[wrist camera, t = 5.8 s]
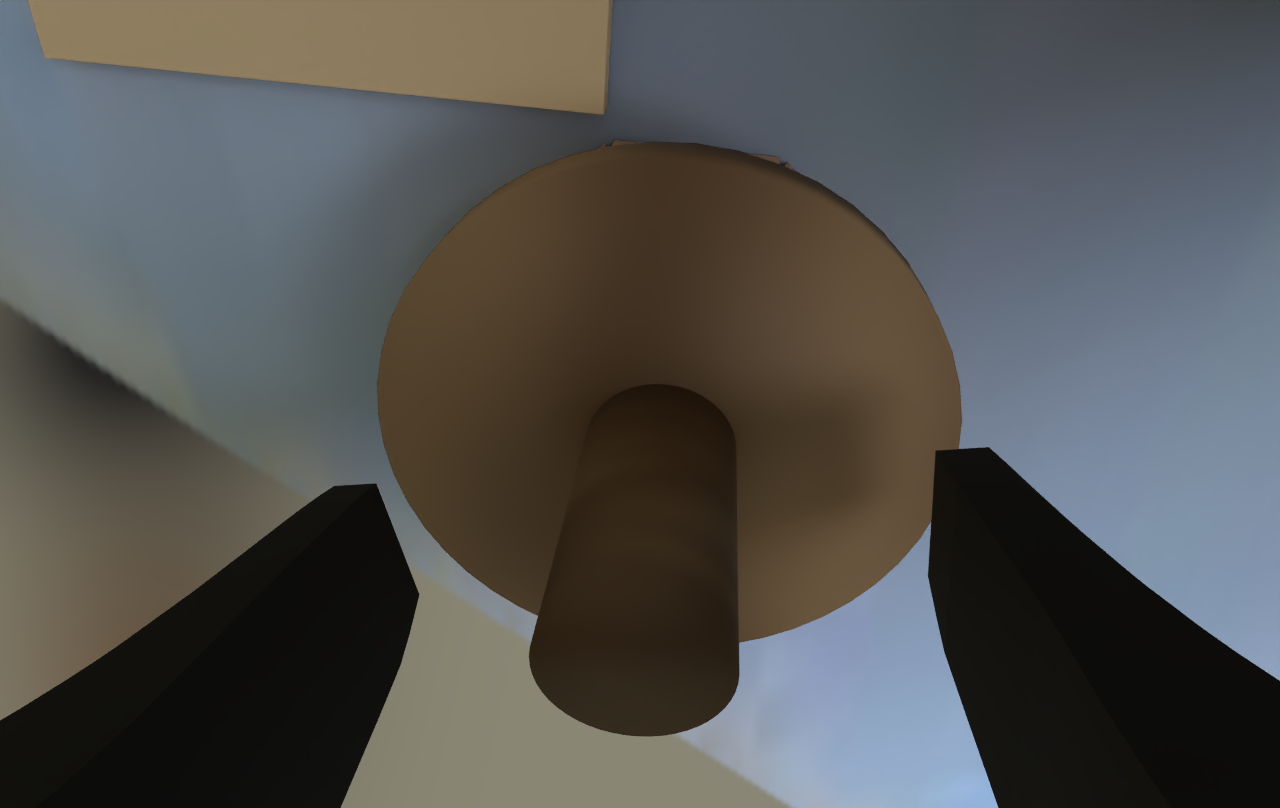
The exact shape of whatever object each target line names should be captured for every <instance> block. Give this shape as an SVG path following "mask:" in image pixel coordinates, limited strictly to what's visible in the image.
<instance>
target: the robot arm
mask: <svg viewBox="0 0 1280 808" xmlns="http://www.w3.org/2000/svg"><path fill="white" fill-rule="evenodd" d="M928 578H929V583H930V588H931V593H932V597H933V602H934V607H935V612H936V617H937V621H938V626H939V630H940V634H941V639H942V643H943V648H944V652H945V655H946V658H947V661H948V664H949V667H950V670H951V673H952V676H953V678H954V681H955V684H956V687H957V690H958V693H959V696H960V699H961V702H962V705H963V708H964V710H965V713H966V716H967V719H968V722H969V725H970V728H971V730H972V733H973V736H974V739H975V742H976V745H977V748H978V750H979V753H980V756H981V759H982V762H983V765H984V768H985V770H986V773H987V776H988V779H989V782H990V785H991V788H992V790H993V793H994V796H995V799H996V802H997V805H998V808H1280V681H1279V680H1277V679H1276V678H1274V677H1273V676H1271V675H1270V674H1268V673H1267V672H1265V671H1264V670H1262V669H1261V668H1259V667H1258V666H1256V665H1255V664H1253V663H1252V662H1250V661H1249V660H1247V659H1246V658H1244V657H1243V656H1241V655H1240V654H1238V653H1237V652H1235V651H1234V650H1232V649H1231V648H1230V647H1228V646H1227V645H1225V644H1224V643H1222V642H1221V641H1220V640H1218V639H1217V638H1215V637H1214V636H1213V635H1211V634H1210V633H1208V632H1207V631H1205V630H1204V629H1203V628H1201V627H1200V626H1199V625H1197V624H1196V623H1195V622H1193V621H1192V620H1191V619H1189V618H1188V617H1187V616H1185V615H1184V614H1183V613H1181V612H1180V611H1179V610H1177V609H1176V608H1175V607H1174V606H1172V605H1171V604H1170V603H1168V602H1167V601H1166V600H1164V599H1163V598H1162V597H1160V596H1159V595H1158V594H1156V593H1155V592H1154V591H1152V590H1151V589H1150V588H1148V587H1147V586H1146V585H1145V584H1143V583H1142V582H1141V581H1140V580H1138V579H1137V578H1136V577H1135V576H1133V575H1132V574H1131V573H1130V572H1129V571H1127V570H1126V569H1125V568H1124V567H1123V566H1121V565H1120V564H1119V563H1118V562H1117V561H1116V560H1114V559H1113V558H1112V557H1111V556H1110V555H1108V554H1107V553H1106V552H1105V551H1104V550H1103V549H1101V548H1100V547H1099V546H1098V545H1097V544H1095V543H1094V542H1093V541H1092V540H1091V539H1090V538H1088V537H1087V536H1086V535H1085V534H1084V533H1083V532H1081V531H1080V530H1079V529H1078V528H1077V527H1076V526H1075V525H1073V524H1072V523H1071V522H1070V521H1069V520H1068V519H1067V518H1066V517H1064V516H1063V515H1062V514H1061V513H1060V512H1059V511H1058V510H1057V509H1056V508H1055V507H1053V506H1052V505H1051V504H1050V503H1049V502H1048V501H1047V500H1046V499H1045V498H1044V497H1042V496H1041V495H1040V494H1039V493H1038V492H1037V491H1036V490H1035V489H1034V488H1033V487H1032V486H1031V485H1029V484H1028V483H1027V482H1026V481H1025V480H1024V479H1023V478H1022V477H1021V476H1020V475H1019V474H1018V473H1017V472H1015V471H1014V470H1013V469H1012V468H1011V467H1010V466H1009V465H1008V464H1007V463H1006V462H1005V461H1004V460H1002V459H1001V458H1000V457H999V456H998V455H997V454H996V453H995V452H993V451H992V450H991V449H990V448H989V447H986V448H970V449H953V450H936V451H935V468H934V484H933V501H932V518H931V535H930V552H929V569H928ZM418 598H419V593H418V590H417V588H416V585H415V582H414V580H413V577H412V575H411V572H410V569H409V567H408V564H407V562H406V559H405V556H404V554H403V551H402V549H401V546H400V544H399V541H398V538H397V536H396V533H395V531H394V528H393V526H392V523H391V520H390V518H389V515H388V513H387V510H386V508H385V505H384V502H383V500H382V497H381V495H380V492H379V489H378V487H377V484H361V485H344V486H334V487H332V488H331V489H329V490H328V491H326V492H324V493H323V494H321V495H320V496H318V497H317V498H316V499H314V500H313V501H311V502H310V503H309V504H307V505H306V506H305V507H303V508H302V509H300V510H299V511H298V512H296V513H295V514H294V515H293V516H291V517H290V518H288V519H287V520H286V521H285V522H283V523H282V524H280V525H279V526H278V527H277V528H275V529H274V530H273V531H272V532H270V533H269V534H268V535H267V536H265V537H264V538H262V539H261V540H260V541H258V542H257V543H256V544H255V545H253V546H252V547H251V548H249V549H248V550H247V551H246V552H244V553H243V554H242V555H240V556H239V557H238V558H236V559H235V560H234V561H233V562H231V563H230V564H229V565H227V566H226V567H225V568H223V569H222V570H221V571H220V572H218V573H217V574H216V575H214V576H213V577H212V578H210V579H209V580H208V581H207V582H205V583H204V584H203V585H201V586H200V587H199V588H197V589H196V590H195V591H193V592H192V593H191V594H190V595H188V596H186V597H185V598H184V599H182V600H181V601H179V602H178V603H177V604H175V605H174V606H173V607H171V608H170V609H169V610H167V611H166V612H164V613H163V614H161V615H160V616H159V617H157V618H156V619H155V620H153V621H152V622H150V623H149V624H148V625H146V626H145V627H143V628H142V629H141V630H140V631H138V632H137V633H135V634H134V635H132V636H131V637H130V638H128V639H127V640H125V641H124V642H123V643H121V644H120V645H118V646H117V647H116V648H114V649H113V650H111V651H110V652H108V653H107V654H105V655H104V656H102V657H101V658H100V659H98V660H96V661H95V662H93V663H92V664H90V665H89V666H87V667H86V668H84V669H83V670H81V671H80V672H78V673H76V674H75V675H73V676H72V677H70V678H69V679H67V680H66V681H64V682H63V683H61V684H59V685H58V686H56V687H54V688H53V689H51V690H50V691H48V692H46V693H45V694H43V695H42V696H40V697H38V698H37V699H35V700H33V701H32V702H30V703H29V704H27V705H25V706H24V707H22V708H21V709H19V710H17V711H16V712H14V713H12V714H11V715H9V716H7V717H6V718H4V719H2V720H0V808H341V805H342V803H343V801H344V798H345V796H346V794H347V791H348V789H349V786H350V784H351V782H352V779H353V777H354V774H355V772H356V770H357V768H358V765H359V763H360V761H361V758H362V756H363V754H364V751H365V749H366V747H367V744H368V742H369V740H370V737H371V735H372V732H373V730H374V728H375V725H376V723H377V721H378V718H379V716H380V713H381V711H382V709H383V706H384V704H385V701H386V698H387V697H388V694H389V692H390V689H391V687H392V685H393V682H394V680H395V677H396V675H397V672H398V669H399V667H400V665H401V662H402V658H403V655H404V651H405V648H406V644H407V641H408V637H409V634H410V630H411V626H412V622H413V618H414V614H415V610H416V606H417V601H418Z"/></svg>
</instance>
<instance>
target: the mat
mask: <svg viewBox="0 0 1280 808" xmlns="http://www.w3.org/2000/svg"><path fill="white" fill-rule="evenodd" d="M28 3H29V6H30V10H31V13H32V17H33V20H34V23H35V27H36V30H37V33H38V37H39V40H40V43H41V47H42V50H43V54H44V57H45V58H53V59H63V60H73V61H82V62H92V63H102V64H112V65H122V66H131V67H141V68H151V69H161V70H171V71H180V72H190V73H200V74H210V75H220V76H229V77H239V78H249V79H259V80H269V81H278V82H288V83H298V84H308V85H318V86H327V87H337V88H347V89H357V90H367V91H376V92H386V93H396V94H406V95H416V96H426V97H435V98H445V99H455V100H465V101H475V102H484V103H494V104H504V105H514V106H524V107H533V108H543V109H553V110H563V111H573V112H582V113H592V114H602V115H603V114H604V112H605V110H606V109H607V101H608V82H609V63H610V44H611V26H612V7H613V0H28Z"/></svg>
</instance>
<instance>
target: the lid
mask: <svg viewBox="0 0 1280 808" xmlns="http://www.w3.org/2000/svg"><path fill="white" fill-rule="evenodd" d="M377 388H378V415H379V421H380V426H381V431H382V437H383V442H384V446H385V449H386V452H387V455H388V458H389V461H390V464H391V467H392V470H393V473H394V475H395V477H396V479H397V481H398V483H399V485H400V487H401V489H402V491H403V493H404V495H405V498H406V500H407V502H408V503H409V505H410V506H411V508H412V509H413V511H414V512H415V514H416V515H417V517H418V518H419V520H420V521H421V523H422V524H423V526H424V527H425V528H426V529H427V531H428V532H429V533H430V534H431V535H432V536H433V538H434V539H435V540H436V541H437V542H438V543H439V545H440V546H441V547H442V548H443V549H444V550H445V551H446V552H447V553H448V554H449V555H450V556H451V557H452V558H453V559H454V560H455V561H456V562H457V563H458V564H460V565H461V566H462V567H463V568H464V569H465V570H466V571H467V572H468V573H470V574H471V575H472V576H474V577H475V578H476V579H478V580H479V581H480V582H482V583H483V584H484V585H486V586H487V587H488V588H490V589H491V590H492V591H494V592H496V593H497V594H499V595H501V596H502V597H504V598H506V599H507V600H509V601H510V602H512V603H514V604H515V605H517V606H519V607H521V608H523V609H525V610H527V611H529V612H531V613H533V614H535V615H538V619H537V623H536V626H535V630H534V634H533V638H532V642H531V645H530V652H529V661H530V668H531V671H532V675H533V677H534V679H535V681H536V683H537V685H538V687H539V688H540V689H541V691H542V692H543V694H544V695H545V696H546V697H547V698H548V699H549V700H550V701H551V702H552V703H553V704H554V705H555V706H556V707H558V708H559V709H560V710H562V711H563V712H564V713H566V714H568V715H569V716H571V717H573V718H574V719H576V720H578V721H580V722H582V723H585V724H587V725H589V726H592V727H595V728H597V729H600V730H604V731H608V732H612V733H617V734H622V735H630V736H663V735H669V734H675V733H679V732H683V731H687V730H690V729H692V728H695V727H698V726H700V725H702V724H704V723H706V722H708V721H709V720H711V719H712V718H714V717H715V716H716V715H718V714H719V713H720V712H721V711H722V710H723V709H724V708H725V707H726V706H727V705H728V703H729V702H730V701H731V699H732V697H733V696H734V694H735V692H736V689H737V686H738V681H739V642H744V641H749V640H754V639H760V638H764V637H768V636H771V635H774V634H778V633H781V632H784V631H788V630H791V629H794V628H797V627H799V626H801V625H804V624H806V623H809V622H811V621H814V620H816V619H818V618H821V617H823V616H825V615H827V614H829V613H831V612H832V611H834V610H836V609H838V608H840V607H842V606H843V605H845V604H847V603H849V602H851V601H852V600H853V599H855V598H856V597H858V596H859V595H861V594H862V593H863V592H865V591H866V590H868V589H869V588H871V587H872V586H873V585H875V584H876V583H877V582H878V581H880V580H881V579H882V578H883V577H884V576H885V575H886V574H887V573H888V572H890V571H891V570H892V569H893V568H894V567H895V566H896V565H897V564H898V563H899V562H900V561H901V560H902V559H903V558H904V557H905V555H906V554H907V553H908V552H909V551H910V550H911V548H912V547H913V546H914V545H915V544H916V543H917V541H918V540H919V539H920V538H921V536H922V534H923V533H924V531H925V530H926V528H927V527H928V525H929V524H930V522H931V518H932V501H933V484H934V468H935V451H936V450H953V449H959V441H960V432H961V423H962V414H961V395H960V384H959V380H958V375H957V371H956V366H955V361H954V357H953V352H952V350H951V347H950V345H949V342H948V340H947V337H946V335H945V332H944V330H943V327H942V325H941V322H940V320H939V318H938V316H937V314H936V312H935V310H934V308H933V306H932V304H931V302H930V300H929V298H928V296H927V293H926V292H925V290H924V288H923V287H922V285H921V283H920V282H919V280H918V278H917V277H916V275H915V273H914V272H913V270H912V268H911V267H910V265H909V263H908V262H907V260H906V259H905V258H904V257H903V255H902V254H901V253H900V252H899V251H898V249H897V248H896V247H895V246H894V245H893V243H892V242H891V241H890V240H889V239H888V237H887V236H886V235H885V234H884V233H883V231H881V230H880V229H879V228H878V227H877V226H876V225H875V224H874V223H872V222H871V221H870V220H869V219H868V218H867V217H866V216H865V215H864V214H862V213H861V212H860V211H859V210H858V209H857V208H856V207H855V206H853V205H852V204H851V203H849V202H848V201H846V200H845V199H843V198H841V197H840V196H838V195H837V194H835V193H834V192H832V191H831V190H829V189H828V188H826V187H825V186H823V185H822V184H820V183H819V182H817V181H815V180H813V179H811V178H808V177H806V176H804V175H802V174H800V173H798V172H796V171H794V170H792V169H790V168H787V167H785V166H783V165H781V164H778V163H775V162H772V161H769V160H766V159H763V158H760V157H756V156H753V155H750V154H747V153H744V152H741V151H736V150H731V149H725V148H719V147H714V146H708V145H702V144H696V143H672V142H645V143H635V144H624V145H613V146H607V147H603V148H599V149H595V150H590V151H586V152H582V153H577V154H573V155H569V156H567V157H564V158H561V159H559V160H556V161H554V162H551V163H548V164H546V165H543V166H541V167H538V168H535V169H533V170H531V171H529V172H527V173H526V174H524V175H522V176H520V177H518V178H517V179H515V180H513V181H511V182H509V183H508V184H506V185H504V186H502V187H501V188H499V189H497V190H496V191H495V192H493V193H492V194H491V195H490V196H488V197H487V198H486V199H484V200H483V201H482V202H480V203H479V204H478V205H477V206H475V207H474V208H473V209H471V210H470V211H469V212H468V213H467V214H466V215H465V216H464V217H463V218H462V219H461V220H460V221H459V222H458V223H457V224H456V225H455V226H454V227H453V228H452V230H451V231H450V232H449V233H448V234H447V235H446V236H445V237H444V238H443V239H442V240H441V242H440V243H439V244H438V245H437V246H436V248H435V249H434V250H433V251H432V252H431V254H430V255H429V256H428V257H427V258H426V260H425V261H424V262H423V264H422V265H421V267H420V268H419V270H418V271H417V273H416V274H415V275H414V277H413V278H412V280H411V281H410V283H409V284H408V286H407V287H406V288H405V290H404V292H403V295H402V297H401V299H400V301H399V303H398V305H397V307H396V309H395V311H394V313H393V315H392V318H391V320H390V323H389V327H388V330H387V333H386V337H385V340H384V344H383V347H382V351H381V358H380V366H379V374H378V382H377Z"/></svg>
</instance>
